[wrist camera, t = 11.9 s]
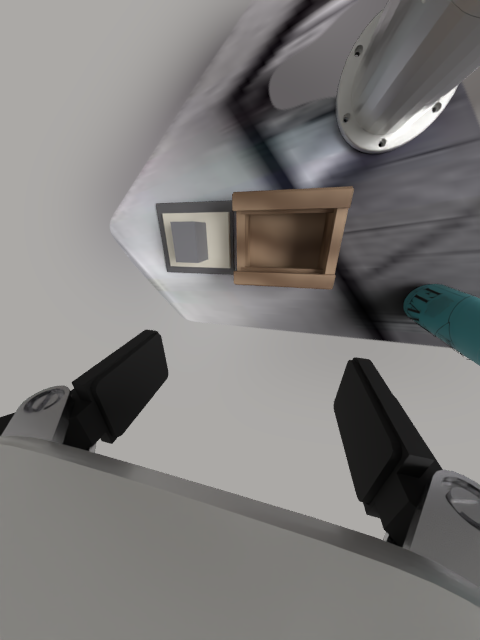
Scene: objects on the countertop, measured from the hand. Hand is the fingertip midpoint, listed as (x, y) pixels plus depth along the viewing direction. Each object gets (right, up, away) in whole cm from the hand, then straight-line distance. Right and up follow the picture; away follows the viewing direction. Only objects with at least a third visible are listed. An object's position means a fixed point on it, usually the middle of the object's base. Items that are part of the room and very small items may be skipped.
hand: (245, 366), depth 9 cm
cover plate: (-8, +17, +25) cm, 31 cm away
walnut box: (+7, +16, +22) cm, 28 cm away
